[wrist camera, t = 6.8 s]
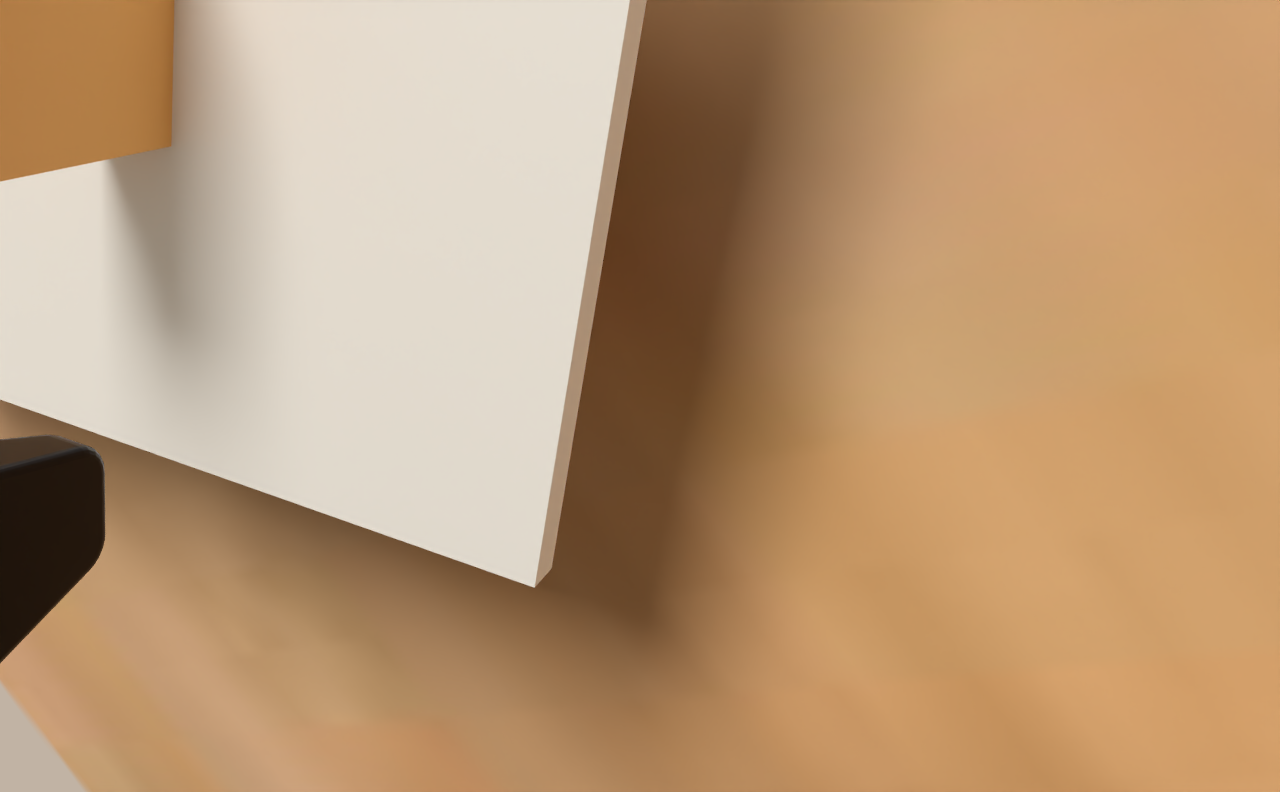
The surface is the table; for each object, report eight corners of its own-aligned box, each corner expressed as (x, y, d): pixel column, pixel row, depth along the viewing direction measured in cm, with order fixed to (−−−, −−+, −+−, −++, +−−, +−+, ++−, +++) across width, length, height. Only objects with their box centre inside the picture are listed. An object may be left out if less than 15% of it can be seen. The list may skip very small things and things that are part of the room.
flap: (551, 568, 18) (386, 753, 14) (16, 383, 20) (-262, 493, 16) (744, -581, 12) (567, -850, 8) (-17, -650, 15) (-446, -882, 11)
